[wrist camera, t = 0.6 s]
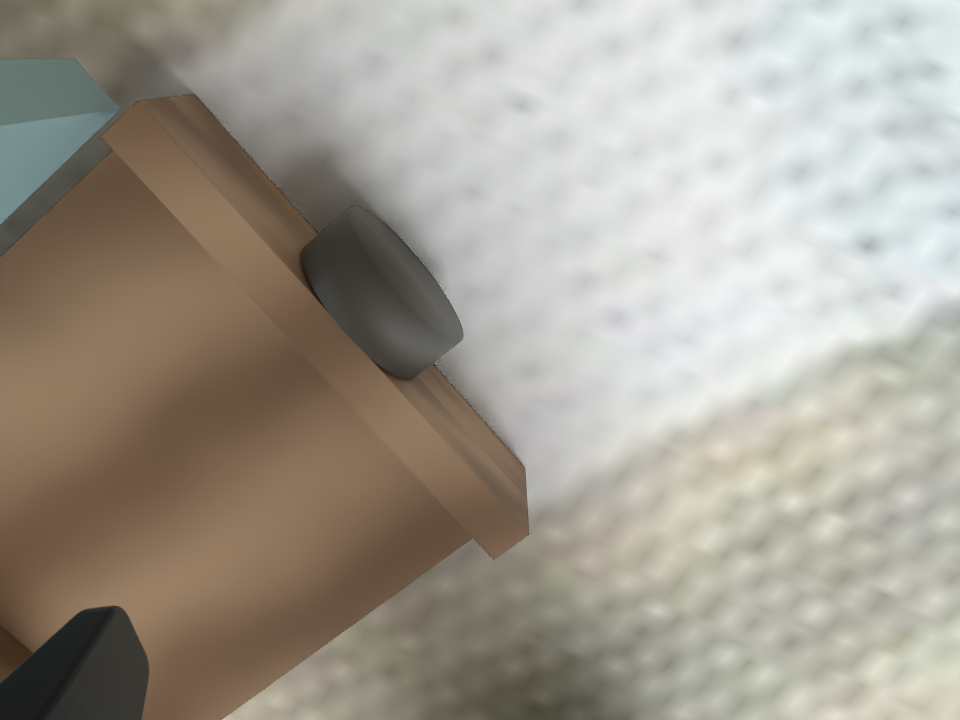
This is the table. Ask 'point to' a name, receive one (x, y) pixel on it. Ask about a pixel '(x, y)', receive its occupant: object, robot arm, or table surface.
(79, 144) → the panel
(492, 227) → the table surface
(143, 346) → the trailer
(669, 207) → the table surface
